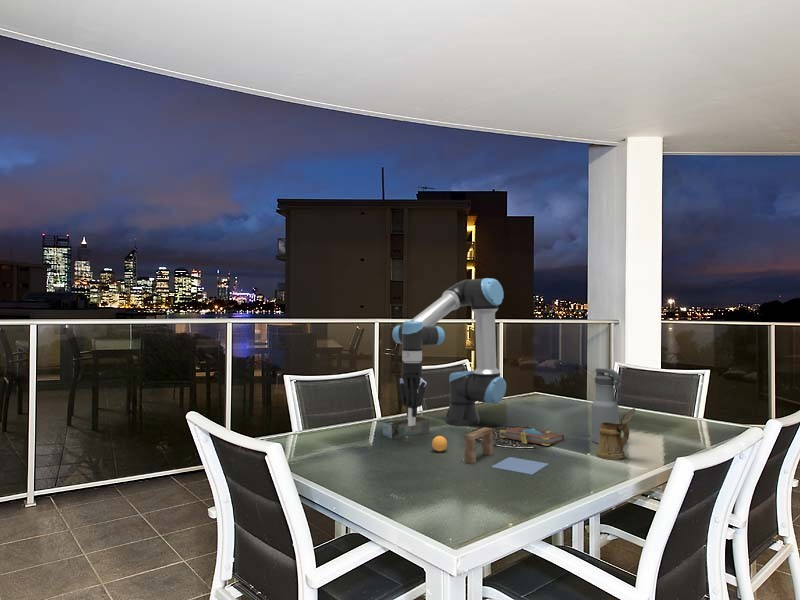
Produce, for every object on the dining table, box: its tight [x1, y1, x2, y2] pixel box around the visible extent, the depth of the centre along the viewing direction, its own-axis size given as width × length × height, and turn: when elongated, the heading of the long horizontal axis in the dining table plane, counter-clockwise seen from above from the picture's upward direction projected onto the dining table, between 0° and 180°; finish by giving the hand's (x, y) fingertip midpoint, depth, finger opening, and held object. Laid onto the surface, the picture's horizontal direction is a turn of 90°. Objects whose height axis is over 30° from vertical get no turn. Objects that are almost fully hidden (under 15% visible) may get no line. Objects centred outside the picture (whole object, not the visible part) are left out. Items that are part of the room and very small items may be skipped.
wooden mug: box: [596, 407, 636, 461], centre depth 184 cm, size 9×14×18 cm, turn 40°
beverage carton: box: [382, 416, 430, 439], centre depth 220 cm, size 8×19×6 cm, turn 122°
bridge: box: [464, 426, 494, 465], centre depth 184 cm, size 3×14×9 cm, turn 144°
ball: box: [431, 435, 448, 453], centre depth 193 cm, size 6×6×6 cm
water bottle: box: [590, 367, 621, 444], centre depth 206 cm, size 10×10×28 cm
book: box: [499, 426, 565, 447], centre depth 212 cm, size 16×25×5 cm, turn 47°
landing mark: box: [490, 456, 549, 476], centre depth 175 cm, size 14×14×1 cm
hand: (411, 425), depth 200 cm, fingers closed
